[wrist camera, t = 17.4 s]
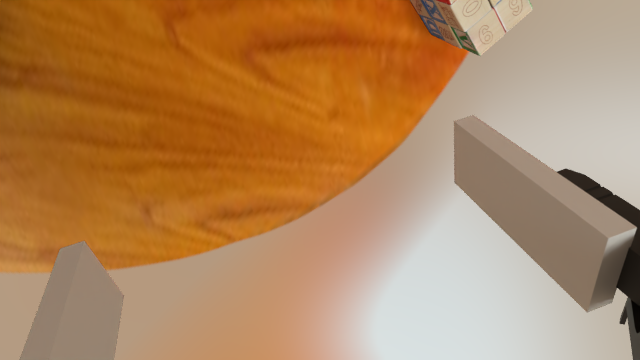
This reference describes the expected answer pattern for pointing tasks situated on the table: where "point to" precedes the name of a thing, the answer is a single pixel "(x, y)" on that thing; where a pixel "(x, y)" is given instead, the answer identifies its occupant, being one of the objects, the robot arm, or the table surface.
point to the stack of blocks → (471, 20)
